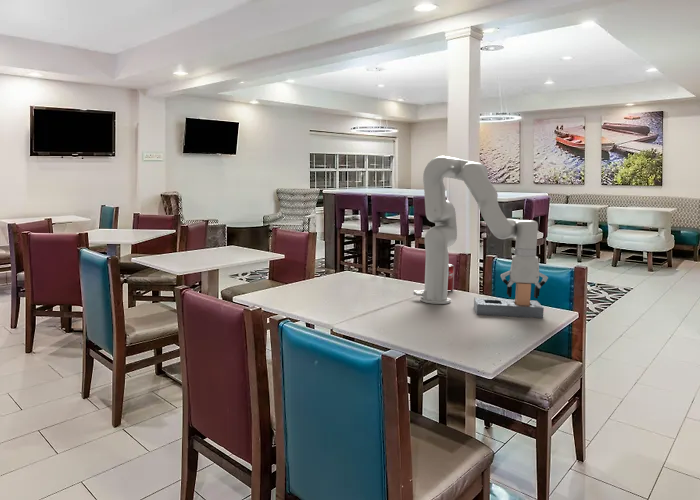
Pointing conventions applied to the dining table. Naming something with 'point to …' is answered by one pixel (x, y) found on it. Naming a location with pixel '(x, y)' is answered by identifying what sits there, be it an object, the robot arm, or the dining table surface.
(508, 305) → the gray peg hole board
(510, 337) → the dining table surface
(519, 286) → the square peg
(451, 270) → the soda can
